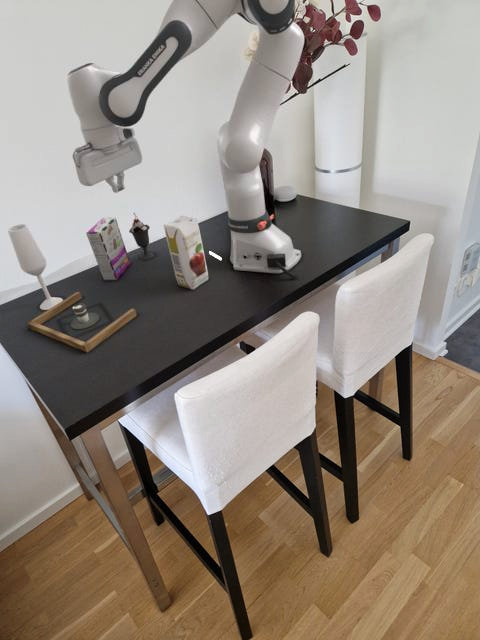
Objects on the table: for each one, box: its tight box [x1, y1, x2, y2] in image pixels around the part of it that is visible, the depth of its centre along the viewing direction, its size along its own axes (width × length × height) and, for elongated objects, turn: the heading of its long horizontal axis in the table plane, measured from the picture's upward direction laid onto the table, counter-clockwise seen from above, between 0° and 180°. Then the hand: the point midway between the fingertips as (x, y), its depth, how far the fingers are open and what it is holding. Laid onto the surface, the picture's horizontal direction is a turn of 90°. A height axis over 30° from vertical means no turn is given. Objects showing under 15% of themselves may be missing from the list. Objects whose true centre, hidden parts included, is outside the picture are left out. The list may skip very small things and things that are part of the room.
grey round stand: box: [70, 302, 100, 330], centre depth 115 cm, size 12×12×5 cm
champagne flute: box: [7, 223, 64, 311], centre depth 120 cm, size 7×7×24 cm
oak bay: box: [26, 291, 138, 354], centre depth 115 cm, size 24×17×2 cm
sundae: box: [128, 212, 155, 261], centre depth 141 cm, size 7×7×15 cm
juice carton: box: [163, 215, 209, 290], centre depth 121 cm, size 8×9×19 cm
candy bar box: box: [86, 217, 131, 281], centre depth 134 cm, size 11×5×16 cm, turn 168°
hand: (119, 190), depth 118 cm, fingers closed
